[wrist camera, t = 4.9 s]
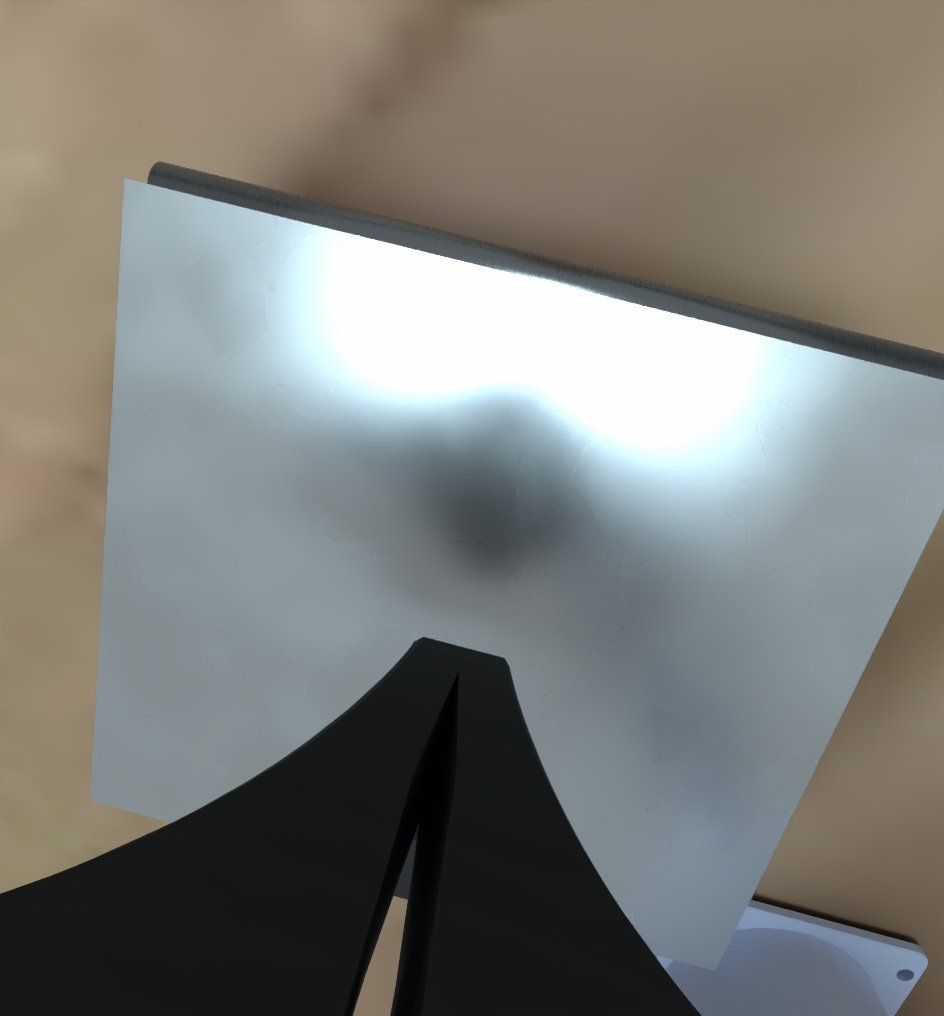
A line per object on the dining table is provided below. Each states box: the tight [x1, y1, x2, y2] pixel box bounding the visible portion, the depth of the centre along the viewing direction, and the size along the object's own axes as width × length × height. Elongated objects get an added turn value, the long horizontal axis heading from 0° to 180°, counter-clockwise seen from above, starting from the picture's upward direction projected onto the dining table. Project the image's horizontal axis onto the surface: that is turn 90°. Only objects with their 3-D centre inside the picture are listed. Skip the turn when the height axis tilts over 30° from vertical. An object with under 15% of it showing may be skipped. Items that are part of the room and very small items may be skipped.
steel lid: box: [90, 162, 944, 971], centre depth 13 cm, size 14×15×2 cm
